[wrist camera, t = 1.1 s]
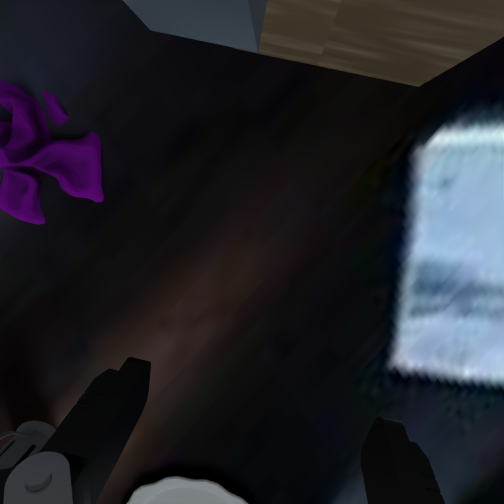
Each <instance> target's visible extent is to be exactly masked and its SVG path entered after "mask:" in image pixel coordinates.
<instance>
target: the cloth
mask: <svg viewBox="0 0 504 504" xmlns="http://www.w3.org/2000/svg"><path fill="white" fill-rule="evenodd" d="M42 93H43V95H44V99H45V103H46V107H47V109H48V117H49V118H50V119H51V120H52V121H53V122H54V123H55V124H57V125H62V124H63V123H64V122H65V121H66V120H67V119H68V118H69V117H68V116H67V114H66V113H65V112H64V110H63V109H62V107H61V105H60V103H59V101H58V100H57V99H56V97H55V95H53V94H51V93H49V92H47V91H45V90H43V92H42ZM0 105H1V106H2V107H3V108H4V109H6V110H7V111H8V112H9V113H11V114H12V115H13V118H12V122H8V121H3V120H0V168H1V169H3V170H4V175H3V181H2V184H1V187H0V208H1V209H2V210H3V211H5V212H7V213H9V214H10V215H12V216H14V217H16V218H18V219H21V220H23V221H26V222H30V223H34V224H43V223H45V218H44V216H43V214H42V211H41V209H40V191H41V184H42V175H43V172H46V173H48V174H51V175H52V176H54V177H56V178H57V179H58V181H59V185H60V188H62V189H63V190H64V191H65V192H66V193H68V194H70V195H72V196H75V197H80V198H89V199H91V200H94V201H95V202H101V201H103V198H104V195H103V184H102V165H101V143H100V140H99V137H98V135H97V134H96V133H95V132H90V133H89V134H88V135H86V136H85V137H84V138H82V139H78V140H67V139H62V140H57V141H54V140H53V139H51V138H50V136H49V132H48V126H47V119H46V116H45V113H44V111H43V110H42V108H41V106H40V104H39V103H38V101H36V100H35V99H34V98H32V97H30V96H29V95H27V94H25V93H24V92H23V91H22V90H21V89H20V88H19V87H18V86H15V85H12V84H9V83H6V82H3V81H0Z"/></svg>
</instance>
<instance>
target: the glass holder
mask: <svg viewBox="0 0 504 504" xmlns="http://www.w3.org/2000/svg"><path fill="white" fill-rule="evenodd" d="M55 431H56V429H55V428H54V427H53V426H51V425H49V424H47V423H45V422H41V421H28V422H25V423H23V424H22V425H20V426H19V427H18V429H17V430H16V432H15V431H7V432H5V433H2V434H0V439H2V438H4V437H6V436H9V435H14V436H13V437H12V438H11V439H10V440H9V441H8V442H7V443H6V444H5V445H4V446H3V447H2V448H1V449H0V469H7V468H11V467H14V466H17V465H19V464H20V463H21V462H22V461H24V460H25V459H27V458H29V457H30V456H32V455H35V454H37V453H38V452H39V451H40V450H41V449H42V448H43V446H44V445H45V444H46V443H47V441H48V440H49V439H50V437H51V436H52V435H53V433H54V432H55Z"/></svg>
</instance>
